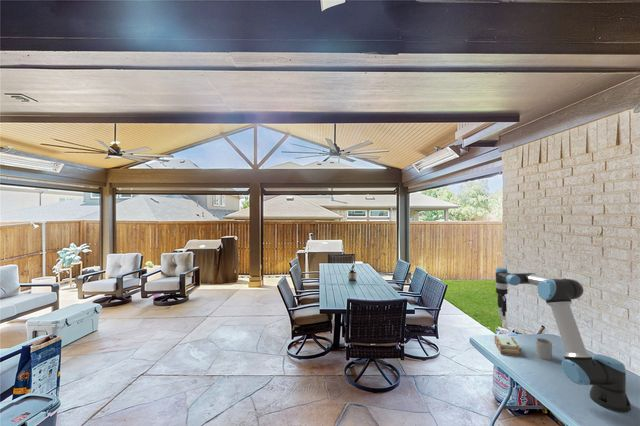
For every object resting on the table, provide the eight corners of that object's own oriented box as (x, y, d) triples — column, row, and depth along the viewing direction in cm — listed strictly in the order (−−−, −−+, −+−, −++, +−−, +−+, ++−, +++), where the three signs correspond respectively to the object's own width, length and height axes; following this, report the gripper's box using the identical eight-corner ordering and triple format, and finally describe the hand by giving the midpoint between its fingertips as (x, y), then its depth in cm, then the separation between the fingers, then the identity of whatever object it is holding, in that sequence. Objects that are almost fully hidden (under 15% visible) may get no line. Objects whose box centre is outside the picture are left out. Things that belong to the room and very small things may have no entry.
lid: (516, 349, 196) (516, 344, 196) (501, 347, 199) (501, 343, 199) (511, 341, 207) (511, 337, 207) (497, 339, 210) (497, 335, 210)
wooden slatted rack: (520, 356, 193) (520, 348, 193) (500, 354, 197) (500, 345, 197) (513, 345, 208) (513, 337, 208) (494, 343, 212) (494, 335, 212)
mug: (554, 360, 186) (554, 344, 186) (539, 358, 189) (538, 342, 189) (546, 352, 198) (546, 336, 198) (532, 350, 201) (532, 335, 200)
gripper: (511, 292, 202) (512, 323, 202) (503, 285, 221) (503, 313, 221) (499, 291, 204) (500, 322, 205) (492, 284, 223) (493, 312, 223)
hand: (502, 317), depth 213 cm, fingers open, 7 cm apart
